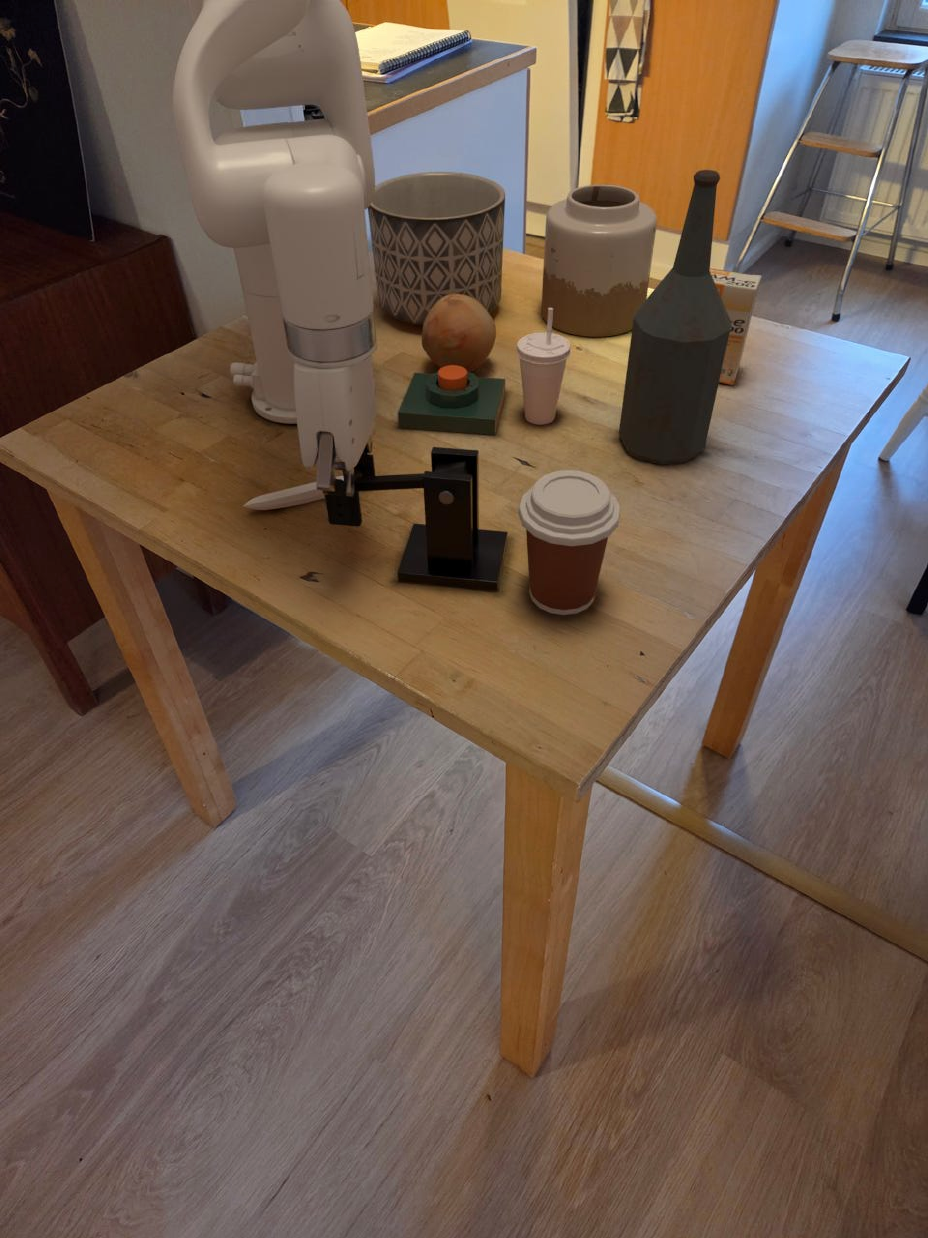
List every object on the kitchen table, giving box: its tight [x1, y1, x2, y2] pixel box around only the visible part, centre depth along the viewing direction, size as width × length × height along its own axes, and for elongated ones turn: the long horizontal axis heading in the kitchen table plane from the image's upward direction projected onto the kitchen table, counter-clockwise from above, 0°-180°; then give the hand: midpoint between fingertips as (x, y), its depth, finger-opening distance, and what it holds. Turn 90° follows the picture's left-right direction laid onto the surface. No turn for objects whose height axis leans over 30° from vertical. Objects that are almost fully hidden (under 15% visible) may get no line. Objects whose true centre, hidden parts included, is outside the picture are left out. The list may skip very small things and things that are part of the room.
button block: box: [397, 371, 506, 436], centre depth 106 cm, size 12×10×4 cm
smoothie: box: [516, 308, 572, 425], centre depth 101 cm, size 6×6×14 cm
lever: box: [354, 462, 468, 492], centre depth 81 cm, size 12×5×2 cm, turn 81°
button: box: [437, 365, 467, 391], centre depth 104 cm, size 4×4×2 cm
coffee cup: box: [517, 469, 622, 616], centre depth 79 cm, size 9×9×12 cm
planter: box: [367, 171, 506, 326], centre depth 123 cm, size 19×19×16 cm
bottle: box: [618, 169, 732, 466], centre depth 91 cm, size 10×10×30 cm
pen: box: [242, 475, 344, 511], centre depth 94 cm, size 2×14×2 cm, turn 113°
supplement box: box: [710, 267, 762, 386], centre depth 109 cm, size 8×5×13 cm, turn 68°
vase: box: [541, 184, 658, 338], centre depth 121 cm, size 15×15×17 cm
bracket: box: [396, 446, 509, 592], centre depth 82 cm, size 10×8×12 cm
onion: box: [421, 294, 497, 373], centre depth 112 cm, size 10×10×10 cm
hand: (353, 504), depth 83 cm, fingers closed on lever, 5 cm apart
